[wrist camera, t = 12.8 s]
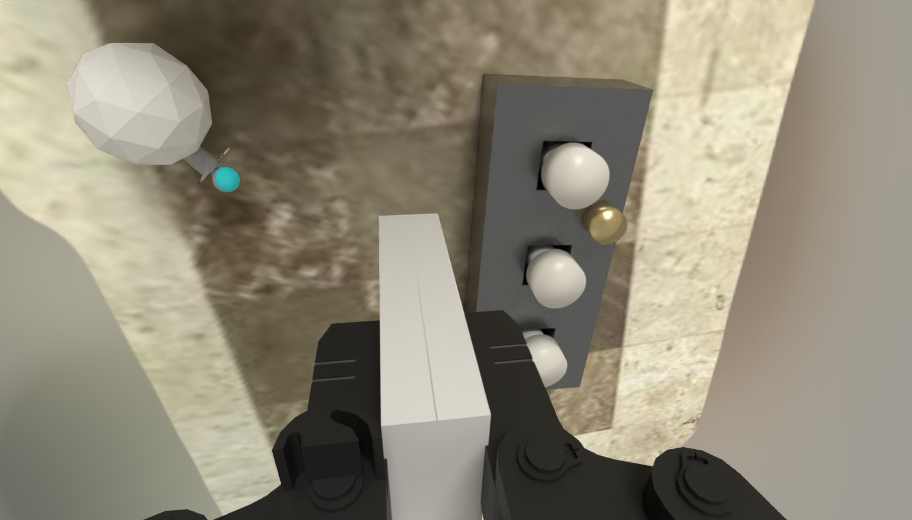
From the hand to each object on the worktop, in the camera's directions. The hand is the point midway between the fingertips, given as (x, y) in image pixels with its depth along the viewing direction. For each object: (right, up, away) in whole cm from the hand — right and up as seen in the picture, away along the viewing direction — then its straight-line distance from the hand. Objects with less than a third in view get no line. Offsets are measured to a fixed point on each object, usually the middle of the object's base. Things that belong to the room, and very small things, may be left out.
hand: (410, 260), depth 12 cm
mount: (+9, +2, +33) cm, 34 cm away
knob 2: (+9, +10, +28) cm, 31 cm away
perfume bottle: (-19, +11, +23) cm, 32 cm away
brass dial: (+14, +4, +27) cm, 31 cm away
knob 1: (+8, -6, +37) cm, 38 cm away
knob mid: (+9, +2, +33) cm, 34 cm away
